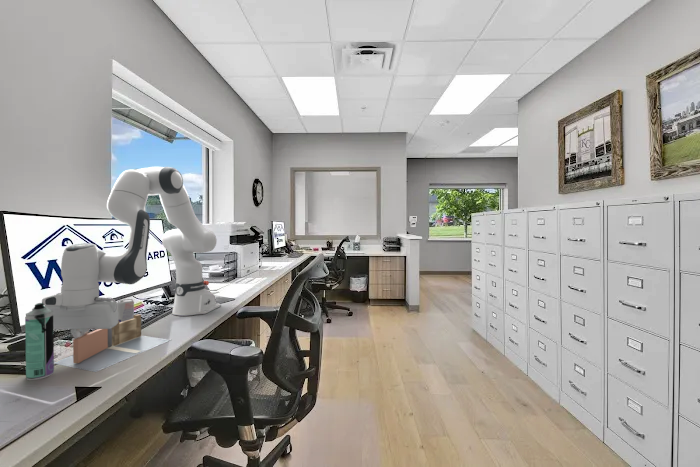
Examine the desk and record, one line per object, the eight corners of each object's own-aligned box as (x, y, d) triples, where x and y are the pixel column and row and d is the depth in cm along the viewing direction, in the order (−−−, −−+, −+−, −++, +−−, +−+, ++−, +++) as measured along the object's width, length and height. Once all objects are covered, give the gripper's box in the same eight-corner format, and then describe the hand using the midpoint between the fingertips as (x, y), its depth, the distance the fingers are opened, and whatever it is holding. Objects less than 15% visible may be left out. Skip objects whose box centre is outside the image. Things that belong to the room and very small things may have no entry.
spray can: (58, 373, 89) (57, 302, 89) (34, 382, 84) (32, 307, 83) (46, 370, 91) (45, 300, 90) (21, 379, 86) (20, 304, 85)
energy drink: (122, 329, 126) (122, 299, 126) (137, 329, 126) (136, 298, 126) (113, 334, 121) (113, 302, 120) (128, 334, 121) (128, 302, 121)
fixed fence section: (137, 335, 118) (137, 314, 118) (141, 336, 118) (141, 314, 118) (111, 345, 109) (111, 321, 109) (114, 345, 109) (114, 322, 108)
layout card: (132, 335, 120) (132, 333, 120) (171, 341, 115) (171, 339, 115) (50, 364, 95) (50, 362, 95) (95, 373, 90) (95, 371, 90)
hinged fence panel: (107, 345, 108) (107, 323, 108) (113, 345, 108) (113, 323, 108) (72, 363, 94) (72, 338, 94) (78, 363, 94) (78, 338, 94)
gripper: (123, 295, 102) (122, 338, 102) (53, 294, 100) (53, 339, 100) (109, 299, 95) (109, 346, 96) (35, 299, 94) (35, 346, 94)
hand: (80, 342), depth 98 cm, fingers closed
